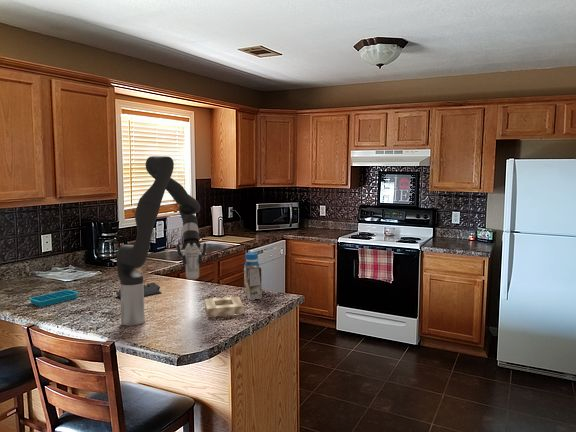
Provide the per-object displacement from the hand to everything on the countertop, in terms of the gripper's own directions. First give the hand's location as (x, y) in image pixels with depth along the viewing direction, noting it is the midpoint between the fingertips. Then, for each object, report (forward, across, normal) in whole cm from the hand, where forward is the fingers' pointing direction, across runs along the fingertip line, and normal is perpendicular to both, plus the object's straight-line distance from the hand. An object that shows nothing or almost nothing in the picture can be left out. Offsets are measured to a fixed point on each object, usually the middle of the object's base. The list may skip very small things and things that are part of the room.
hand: (192, 263), depth 206 cm
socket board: (+19, +14, +12) cm, 26 cm away
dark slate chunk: (-9, -26, +42) cm, 50 cm away
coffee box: (+6, +30, +25) cm, 40 cm away
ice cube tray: (-8, -66, +41) cm, 78 cm away
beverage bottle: (-5, +33, +37) cm, 49 cm away
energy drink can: (+4, 0, +6) cm, 8 cm away
